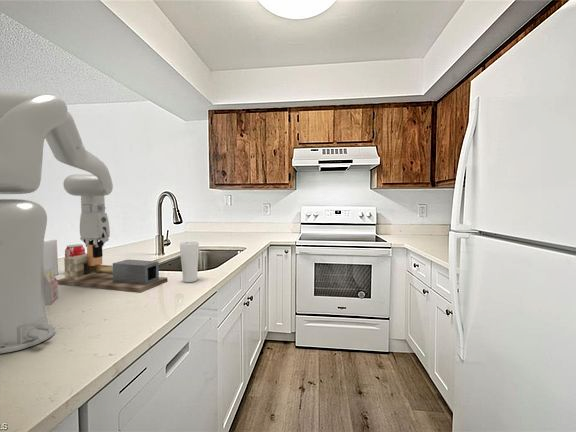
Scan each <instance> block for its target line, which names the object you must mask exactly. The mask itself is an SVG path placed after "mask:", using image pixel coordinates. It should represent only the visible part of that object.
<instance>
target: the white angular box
mask: <svg viewBox="0 0 576 432" xmlns="http://www.w3.org/2000/svg"><path fill="white" fill-rule="evenodd" d="M57 280H58V279H57V277H56V275H54V274H53V272H52V271H51V268H48V269H47V270H45V271H44V284H45V305H46V306H51V305H53V304H54V303H55V302H56V301H57V300H58V299H59V289H58V285H59V284H58V283H57Z"/></svg>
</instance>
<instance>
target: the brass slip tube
mask: <svg viewBox="0 0 576 432" xmlns="http://www.w3.org/2000/svg"><path fill="white" fill-rule="evenodd" d="M94 247H95V243H94V244H89V245H87V247H86V249H87V248H88V264H84V272H92V273H104V274H113V264H111V265H108V264H103V256H102V257H98V258H94ZM99 264H101V265H99Z"/></svg>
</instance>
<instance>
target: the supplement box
mask: <svg viewBox="0 0 576 432" xmlns="http://www.w3.org/2000/svg"><path fill="white" fill-rule="evenodd" d="M58 262H59V261H58V240H57V239H53V238H52V239H49V238H48V239H47V238H44V245H43V264H44V271H45V270H47V269H48V268H51V271H52V272H53V274H54V276H57V275H59V263H58Z"/></svg>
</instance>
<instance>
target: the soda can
mask: <svg viewBox="0 0 576 432" xmlns="http://www.w3.org/2000/svg"><path fill="white" fill-rule="evenodd" d="M84 254H86V249H85V247H84V244H82V243H81V244H80V243H79V244H69V245H68V244H67V245H66V248H65V249H64V258H68V257H74V256H79V255H84Z"/></svg>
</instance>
